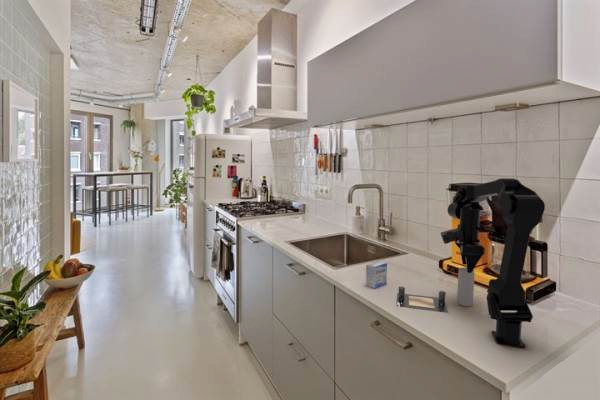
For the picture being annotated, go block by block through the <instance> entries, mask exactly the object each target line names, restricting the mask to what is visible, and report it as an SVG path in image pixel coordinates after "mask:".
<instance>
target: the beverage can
mask: <svg viewBox="0 0 600 400" xmlns="http://www.w3.org/2000/svg"><path fill="white" fill-rule="evenodd" d="M475 273H476V272H475V269H473V271H472V273H468V272H467V267H460V268H459V269H458V276H457V293H456V298H457V299H456V302H457V304H458V305H460V306H463V307H468V308H469V307H471V306H473V303H474V288H475V276H476V274H475Z"/></svg>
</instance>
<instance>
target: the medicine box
mask: <svg viewBox="0 0 600 400" xmlns="http://www.w3.org/2000/svg"><path fill="white" fill-rule="evenodd" d="M387 280H388V263H387V262H384V261H381V260H377V261H374V262H371V263H368V264H366V265H365V286H366V287H369V288H372V289H378V288H381V287H382V286H384V285H387Z"/></svg>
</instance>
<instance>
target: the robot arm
mask: <svg viewBox="0 0 600 400" xmlns="http://www.w3.org/2000/svg"><path fill="white" fill-rule="evenodd" d="M507 194H510V195H507ZM494 196H497V200H496V202H497V203H498V205H499V207H500V208H501V210H502V218H503V221H504V223H505V224H506V226H507V230H506V234H505V235H506V236H505V240H504V247H503V252H502V256H501V264H500V268H499V275H498V277H497V278H492V279H490V280H489V281H488V288H487V290H486V293H487V295H486V302H487V303H486V304H487V312H488V315H489V317H490V319H491V320H495V321H496V323H495V330H491V335H492V337H493V339H494V341H495V343H496V344H498V345H503V346H509V347H515V348H516V347H517V348H522V349H525V348H526V344H525V343H524V342H523V340H522V336H521V335H522V324H523V322H524V323H526V322H527V323H531V322H532V320H533V318H534V317H533V313H532V311H531V309H530V307H529V305H528V302H527V300H526V291H525V288H524V287H523V285H522V282H521V281H522V277H523V272H524V267H525V262H526V257H527V252H528V246H529V242H530V241H529V240H530V238H531V237H530V236H531V233H532V231H533V230H534V229H535V228H536V227H537V226H538V225H539V224H540V223H541V221H542V218H543V215H544V212H545V209H546V203H545V202H544V201H543V199H542V198H541V196H540V195H539V194H538V193H537V192H535V191H534V190H533V189H531V188H529V187H527V186H525V185H524V184H522V183H521V181H519V180H518V179H516V178H503V177H502V178H500V177H499V179H496V180H491V181H488V182H483V183H481V184H480V183H479V184H470V183H469V184H467V183H466V184H460V185H459V188H457V191H456V193H455V194H454V195H453V198H452V202H451V203H450V204H449V205H448V207H447V213H448V215H449V216H450V217H452V218H454V219H457V220H459V223H458V224H457V226H456V228H453V229H448V230H445V231H441V232H440V236H441V239H442V242H443V243H444V245H446V244H450V243H452V242H454V244H455V245H456V246H457V247H458V248H459V253H460V257H461V263H462V265H464V266H465V267H466V268H467V272H468V273H472V271H473V270H475V268H476V266H477V264H478V263H479V261H480V260H481V259H482V257H484V255H486V254H485V253H486V250H485V249H486V248H485V247H484V246H483V245H482V244H481V242H480V239H479V234H480V233H479V231H481V226H480V219H481V211H484V207H483V206H482V205H481V203H482V202H484V201H486V200H487V198H489V197H494Z"/></svg>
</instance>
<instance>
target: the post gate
mask: <svg viewBox="0 0 600 400" xmlns="http://www.w3.org/2000/svg"><path fill="white" fill-rule="evenodd" d="M405 290H406V287H404V286H398V292H397V293H396V303H397V302H399V303H400V307H399V308H404V307H405V308H406V309H414V310H423V311H427V312H429V311H430V312H438V313H445V314H449V313H450V312H449V309H448V306H447V303H446V291H443V290H440V291H438V297H436V296H435V297H434V296H427V295H418V294H410V293H409V294H408V293H405V292H406V291H405ZM401 303H402V304H401Z"/></svg>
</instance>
